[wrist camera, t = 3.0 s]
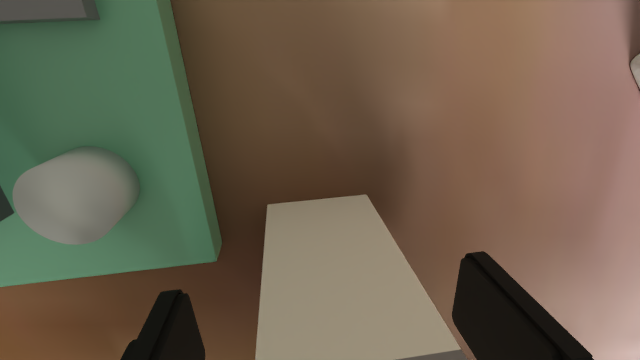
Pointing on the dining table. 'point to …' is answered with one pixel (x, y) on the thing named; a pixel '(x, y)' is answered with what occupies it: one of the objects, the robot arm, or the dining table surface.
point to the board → (98, 143)
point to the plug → (342, 289)
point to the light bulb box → (636, 68)
